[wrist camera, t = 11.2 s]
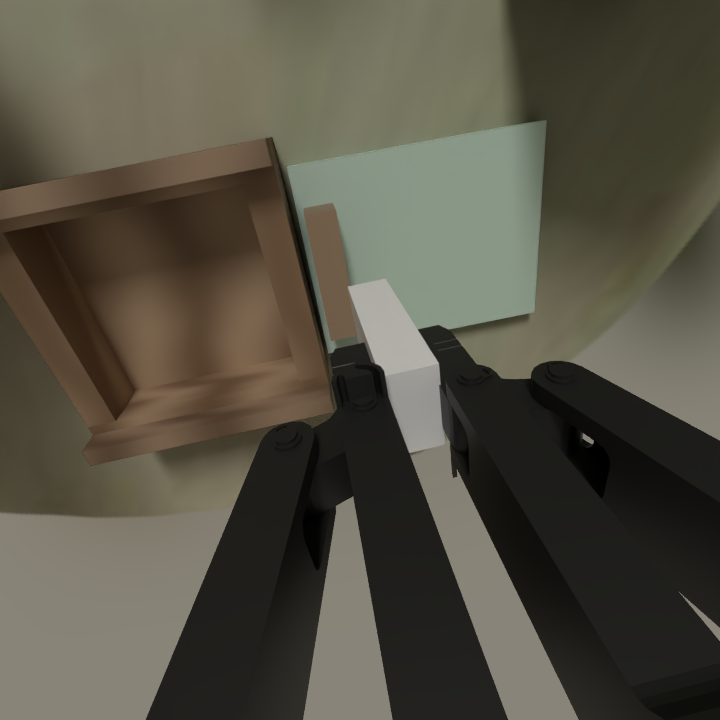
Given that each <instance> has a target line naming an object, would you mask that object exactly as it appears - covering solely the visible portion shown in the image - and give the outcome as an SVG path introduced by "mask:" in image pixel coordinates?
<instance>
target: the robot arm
mask: <svg viewBox="0 0 720 720" xmlns="http://www.w3.org/2000/svg"><path fill="white" fill-rule="evenodd" d="M348 291H349V297H350V302H351V307H352V312H353V317H354V323H355V328H356V333H357V338H358V343H359V344H355V345H350V346H346V347H341V348H337V349H335V350H334V352H333V353H332V355H331V357H330V360H331V366H332V371H333V377H332V382H331V383H332V387H333V391H334V395H335V399H336V403H337V410H336V412H335V413H334V414H333V416H332V417H331V418H330V419H328V420H327V421H326V422H324V423H322V424H320V425H319V426H316V427H314V428H311V426H310V425H308V424H306V423H303V422H289V423H284V424H281V425H279V426H277V427H275V428H273V429H272V430H271V431H269V432H268V433H267V434H266V435H265V436H264V438H263V439H262V441H261V443H260V445H259V447H258V450H257V452H256V455H255V457H254V460H253V462H252V464H251V467H250V469H249V472H248V474H247V476H246V479H245V481H244V484H243V486H242V489H241V491H240V493H239V496H238V498H237V501H236V503H235V505H234V508H233V510H232V513H231V515H230V518H229V520H228V523H227V525H226V527H225V530H224V532H223V534H222V537H221V539H220V542H219V544H218V546H217V549H216V552H215V554H214V556H213V559H212V561H211V564H210V566H209V568H208V571H207V573H206V575H205V578H204V580H203V583H202V585H201V588H200V590H199V592H198V595H197V597H196V600H195V602H194V604H193V607H192V610H191V612H190V614H189V617H188V619H187V621H186V624H185V627H184V629H183V631H182V634H181V636H180V638H179V641H178V643H177V646H176V648H175V651H174V653H173V655H172V658H171V660H170V662H169V665H168V668H167V670H166V672H165V675H164V677H163V679H162V682H161V684H160V687H159V689H158V691H157V694H156V696H155V699H154V701H153V704H152V706H151V708H150V711H149V714H148V716H147V718H146V720H303V715H304V710H305V703H306V697H307V690H308V685H309V678H310V671H311V666H312V659H313V653H314V647H315V641H316V634H317V627H318V621H319V615H320V608H321V603H322V597H323V590H324V584H325V578H326V571H327V565H328V558H329V552H330V546H331V540H332V534H333V527H334V521H335V515H336V505H338V504H340V503H342V502H343V501H345V500H347V499H349V498H351V497H352V496H353V497H354V503H355V509H356V514H357V519H358V526H359V531H360V537H361V543H362V548H363V554H364V559H365V565H366V571H367V576H368V582H369V588H370V593H371V599H372V604H373V610H374V616H375V622H376V627H377V633H378V639H379V644H380V650H381V656H382V661H383V667H384V673H385V678H386V684H387V690H388V695H389V701H390V707H391V712H392V718H393V720H508V718H507V716H506V713H505V710H504V708H503V705H502V703H501V700H500V697H499V694H498V692H497V689H496V686H495V684H494V681H493V678H492V676H491V673H490V670H489V667H488V665H487V662H486V659H485V656H484V654H483V651H482V648H481V646H480V643H479V641H478V638H477V635H476V632H475V629H474V627H473V624H472V621H471V619H470V616H469V613H468V611H467V608H466V605H465V602H464V600H463V597H462V594H461V592H460V589H459V586H458V584H457V581H456V578H455V575H454V573H453V570H452V567H451V565H450V562H449V559H448V557H447V554H446V551H445V549H444V546H443V543H442V540H441V538H440V535H439V532H438V530H437V527H436V524H435V521H434V519H433V516H432V513H431V511H430V508H429V505H428V503H427V500H426V497H425V494H424V492H423V489H422V486H421V484H420V481H419V478H418V476H417V473H416V470H415V467H414V465H413V462H412V460H411V457H410V454H409V453H412V452H417V451H421V450H425V449H429V448H434V447H438V446H442V445H445V433H446V435H447V437H448V439H449V441H450V449H451V464H452V474H453V478H454V477H457V470H458V472H459V474H460V476H461V478H462V480H463V482H464V484H465V486H466V488H467V490H468V492H469V494H470V496H471V498H472V500H473V502H474V505H475V506H476V509H477V511H478V513H479V515H480V517H481V519H482V521H483V523H484V525H485V527H486V529H487V531H488V533H489V535H490V538H491V540H492V542H493V544H494V546H495V548H496V550H497V552H498V554H499V556H500V558H501V560H502V562H503V564H504V566H505V568H506V570H507V573H508V575H509V577H510V579H511V581H512V583H513V585H514V587H515V589H516V591H517V593H518V595H519V597H520V599H521V602H522V603H523V606H524V607H525V610H526V612H527V614H528V616H529V618H530V620H531V622H532V624H533V626H534V628H535V630H536V632H537V634H538V636H539V639H540V641H541V643H542V645H543V647H544V649H545V651H546V653H547V655H548V657H549V659H550V661H551V663H552V665H553V667H554V670H555V672H556V674H557V676H558V678H559V680H560V682H561V684H562V686H563V688H564V690H565V692H566V694H567V696H568V698H569V700H570V703H571V705H572V706H573V709H574V711H575V713H576V715H577V717H578V719H579V720H720V641H719V640H718V639H717V638H716V636H715V635H714V634H713V633H712V631H711V630H710V629H709V628H708V627H707V625H706V624H705V623H704V622H703V621H702V619H701V618H700V617H699V616H698V615H697V613H696V612H695V611H694V610H693V608H692V607H691V606H690V605H689V604H688V603H687V601H686V600H685V599H684V598H683V596H684V597H686V598H687V599H688V600H689V601H690V602H691V603H692V604H694V605H695V606H696V607H697V608H698V609H699V610H700V611H701V612H703V613H704V614H705V615H706V616H707V617H708V618H709V619H711V620H712V621H713V622H714V623H715V624H716V625H717V626H719V627H720V441H719V440H718V439H716V438H714V437H712V436H710V435H708V434H706V433H704V432H703V431H701V430H699V429H697V428H695V427H693V426H691V425H690V424H688V423H686V422H684V421H682V420H680V419H678V418H677V417H674V416H673V415H671V414H669V413H667V412H665V411H664V410H662V409H660V408H658V407H656V406H654V405H652V404H650V403H649V402H647V401H645V400H643V399H641V398H639V397H637V396H636V395H634V394H632V393H630V392H628V391H626V390H624V389H623V388H621V387H619V386H617V385H615V384H613V383H611V382H610V381H608V380H606V379H604V378H602V377H600V376H598V375H597V374H595V373H593V372H591V371H589V370H587V369H585V368H584V367H582V366H579V365H576V364H574V363H570V362H564V361H549V362H545V363H541V364H539V365H538V366H536V367H535V368H534V369H533V371H532V373H531V379H502V378H500V376H499V375H498V374H497V373H496V372H495V371H494V370H492V369H491V368H489V367H486V366H483V365H477V364H476V363H475V362H474V360H473V359H472V358H471V357H470V355H469V354H468V353H467V351H466V350H465V349H464V348H463V346H461V344H460V343H459V341H458V340H457V339H456V337H455V336H454V335H453V334H452V332H451V331H450V330H448V329H446V328H444V327H442V326H440V325H435V326H431V327H426V328H422V329H417V328H416V326H415V325H414V323H413V322H412V320H411V318H410V317H409V315H408V314H407V312H406V310H405V309H404V307H403V306H402V304H401V302H400V301H399V299H398V298H397V296H396V294H395V293H394V291H393V290H392V288H391V287H390V285H389V283H388V282H387V280H386V279H381V280H376V281H372V282H367V283H362V284H358V285H353V286H348ZM444 431H445V433H444ZM583 433H584V434H585V435H587V436H588V437H590V438H591V439H593V440H594V443H593V444H590V443H588V442H587V441H585V440H584V439H582V437H583V436H582V435H583ZM678 591H679V592H680V593H681V594H682V595H683V596H682V595H681V594H680V593H679V592H678Z"/></svg>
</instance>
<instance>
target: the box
mask: <svg viewBox="0 0 720 720" xmlns="http://www.w3.org/2000/svg"><path fill="white" fill-rule="evenodd" d="M0 293H1V294H2V296H3V297H4V299H5V301H6V302H7V304H8V305H9V307H10V308H11V310H12V311H13V313H14V314H15V316H16V317H17V319H18V320H19V322H20V324H21V325H22V327H23V328H24V330H25V331H26V333H27V334H28V336H29V337H30V339H31V340H32V342H33V343H34V345H35V347H36V348H37V350H38V351H39V353H40V354H41V356H42V357H43V359H44V360H45V362H46V363H47V365H48V366H49V368H50V369H51V371H52V373H53V374H54V376H55V377H56V379H57V380H58V382H59V383H60V385H61V386H62V388H63V389H64V391H65V392H66V394H67V396H68V397H69V399H70V400H71V402H72V403H73V405H74V406H75V408H76V409H77V411H78V412H79V414H80V415H81V417H82V419H83V420H84V422H85V423H86V425H87V426H88V428H89V429H90V431H91V432H92V434H93V436H92V438H91V439H90V441H89V442H88V444H87V445H86V447H85V448H84V450H83V451H82V454H83V455H84V457H85V458H86V460H87V461H88V463H89V464H90V466H92V465H96V464H101V463H105V462H110V461H114V460H119V459H123V458H128V457H132V456H137V455H141V454H146V453H150V452H155V451H160V450H164V449H169V448H173V447H178V446H182V445H187V444H191V443H196V442H200V441H205V440H209V439H214V438H219V437H223V436H228V435H232V434H237V433H241V432H246V431H250V430H255V429H259V428H264V427H268V426H273V425H278V424H282V423H287V422H291V421H296V420H300V419H305V418H309V417H314V416H318V415H323V414H327V413H332V412H334V407H333V400H332V392H331V385H330V377H329V370H328V363H327V359H326V355H325V351H324V347H323V343H322V339H321V335H320V331H319V327H318V323H317V318H316V314H315V310H314V306H313V302H312V298H311V294H310V290H309V286H308V282H307V278H306V274H305V269H304V265H303V261H302V257H301V253H300V249H299V245H298V241H297V237H296V233H295V229H294V225H293V220H292V216H291V212H290V208H289V204H288V200H287V196H286V192H285V188H284V184H283V180H282V176H281V171H280V167H279V163H278V159H277V155H276V151H275V147H274V143H273V139H272V137H270V138H265V139H260V140H255V141H250V142H245V143H240V144H235V145H230V146H225V147H220V148H215V149H209V150H204V151H199V152H194V153H189V154H184V155H179V156H174V157H169V158H164V159H159V160H153V161H148V162H143V163H138V164H133V165H128V166H123V167H118V168H113V169H108V170H103V171H98V172H92V173H87V174H82V175H77V176H72V177H67V178H62V179H57V180H52V181H47V182H42V183H37V184H31V185H26V186H21V187H16V188H11V189H6V190H1V191H0Z"/></svg>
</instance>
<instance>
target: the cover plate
mask: <svg viewBox="0 0 720 720" xmlns="http://www.w3.org/2000/svg"><path fill="white" fill-rule="evenodd" d="M546 123H547V120H538V121H532V122H527V123H521V124H516V125H510V126H505V127H499V128H494V129H488V130H483V131H477V132H472V133H466V134H461V135H455V136H450V137H444V138H439V139H433V140H428V141H422V142H417V143H411V144H406V145H401V146H395V147H390V148H384V149H379V150H373V151H368V152H362V153H357V154H351V155H346V156H340V157H335V158H329V159H324V160H318V161H313V162H307V163H302V164H296V165H291V166H287V170H288V175H289V179H290V184H291V188H292V193H293V197H294V202H295V206H296V211H297V215H298V220H299V224H300V229H301V233H302V238H303V242H304V247H305V251H306V256H307V260H308V265H309V269H310V274H311V278H312V283H313V287H314V292H315V296H316V301H317V305H318V310H319V314H320V319H321V323H322V328H323V332H324V337H325V341H326V345H327V350H328V354H329V353H333V352H334V350H335V349H337V348H341V347H346V346H350V345H355V344H359V343H358V338H357V333H356V328H355V323H354V317H353V312H352V307H351V302H350V297H349V291H348V286H353V285H358V284H362V283H367V282H372V281H376V280H381V279H386V280H387V282H388V283H389V285H390V287H391V288H392V290H393V291H394V293H395V294H396V296H397V298H398V299H399V301H400V302H401V304H402V306H403V307H404V309H405V310H406V312H407V314H408V315H409V317H410V318H411V320H412V322H413V323H414V325H415V326H416V328H417V329H422V328H426V327H431V326H435V325H440V326H442V327H444V328H446V329H448V330H449V329H454V328H459V327H464V326H469V325H473V324H478V323H483V322H488V321H493V320H498V319H503V318H508V317H513V316H518V315H523V314H528V313H533V312H534V308H535V293H536V277H537V262H538V247H539V231H540V216H541V200H542V185H543V169H544V154H545V139H546Z"/></svg>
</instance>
